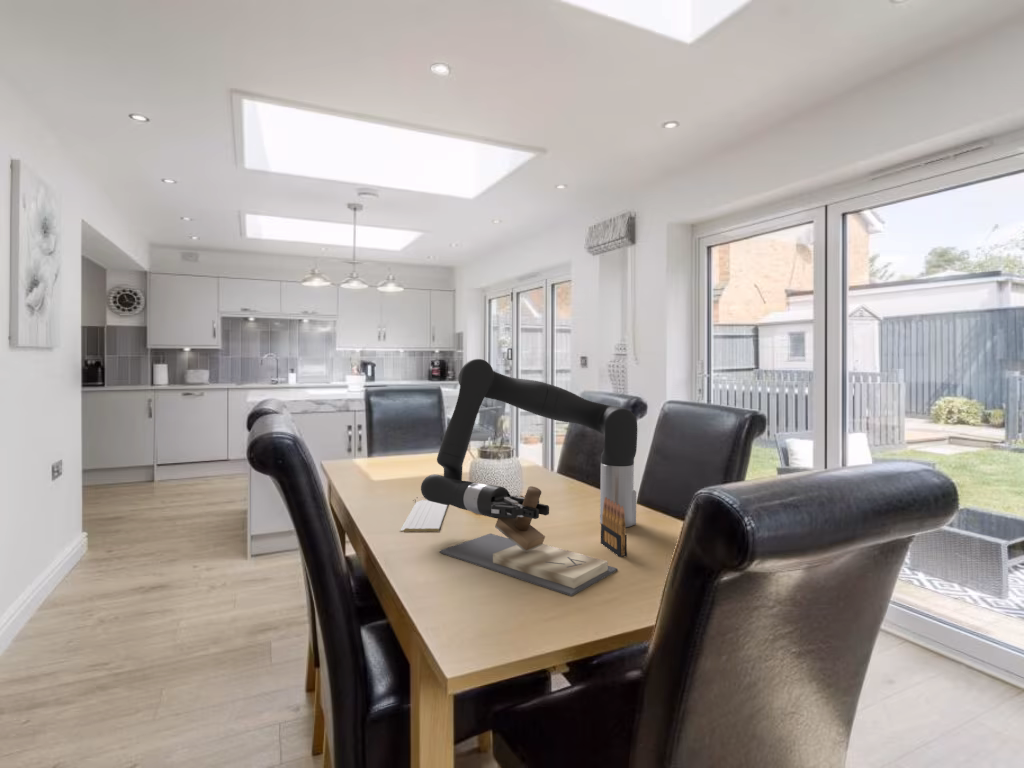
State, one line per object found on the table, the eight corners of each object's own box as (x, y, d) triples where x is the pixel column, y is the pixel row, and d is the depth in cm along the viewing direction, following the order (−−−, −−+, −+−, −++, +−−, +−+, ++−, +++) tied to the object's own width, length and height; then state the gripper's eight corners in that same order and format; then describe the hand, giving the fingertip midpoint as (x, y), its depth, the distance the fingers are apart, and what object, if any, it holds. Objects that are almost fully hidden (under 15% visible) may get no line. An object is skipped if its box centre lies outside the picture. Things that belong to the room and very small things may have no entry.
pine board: (492, 562, 126) (492, 553, 126) (528, 548, 136) (528, 540, 136) (574, 588, 112) (574, 578, 112) (607, 570, 122) (607, 561, 122)
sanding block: (494, 527, 131) (510, 481, 127) (511, 521, 135) (527, 476, 132) (525, 552, 125) (542, 504, 121) (541, 545, 130) (559, 499, 126)
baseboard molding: (394, 534, 151) (439, 534, 151) (394, 523, 151) (439, 523, 151) (411, 504, 182) (449, 504, 182) (412, 495, 182) (449, 495, 182)
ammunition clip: (600, 543, 142) (600, 496, 142) (607, 542, 143) (607, 495, 142) (619, 557, 132) (620, 506, 132) (626, 556, 133) (627, 506, 132)
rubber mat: (439, 552, 134) (439, 550, 134) (490, 535, 148) (490, 533, 148) (571, 596, 110) (571, 593, 110) (617, 570, 123) (617, 568, 123)
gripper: (466, 489, 131) (523, 501, 120) (505, 479, 142) (561, 490, 130) (466, 521, 131) (523, 536, 120) (505, 509, 142) (561, 521, 131)
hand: (542, 512), depth 125 cm, fingers closed on sanding block, 3 cm apart
